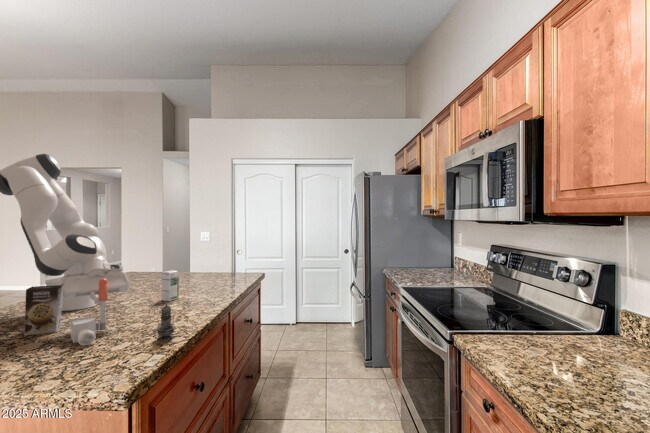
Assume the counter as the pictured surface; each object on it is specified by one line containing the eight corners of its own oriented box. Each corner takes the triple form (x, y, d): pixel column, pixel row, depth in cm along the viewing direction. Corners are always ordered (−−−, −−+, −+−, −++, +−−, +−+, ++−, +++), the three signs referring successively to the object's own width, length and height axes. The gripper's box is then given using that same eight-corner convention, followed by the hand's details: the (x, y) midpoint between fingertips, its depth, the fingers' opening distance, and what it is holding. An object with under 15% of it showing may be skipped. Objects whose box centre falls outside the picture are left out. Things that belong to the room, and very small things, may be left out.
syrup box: (169, 301, 160) (170, 272, 161) (160, 300, 163) (161, 271, 163) (178, 298, 166) (179, 270, 166) (170, 297, 168) (170, 270, 168)
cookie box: (23, 336, 112) (24, 289, 112) (30, 330, 117) (31, 286, 118) (56, 332, 116) (57, 287, 116) (61, 326, 122) (62, 284, 122)
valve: (68, 333, 115) (69, 316, 115) (93, 328, 120) (93, 312, 120) (75, 348, 102) (75, 329, 102) (103, 342, 107) (103, 324, 107)
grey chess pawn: (160, 335, 114) (161, 301, 114) (177, 335, 114) (178, 301, 114) (153, 341, 108) (153, 305, 108) (171, 341, 108) (171, 305, 109)
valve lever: (97, 329, 115) (98, 278, 115) (105, 328, 116) (106, 277, 117) (98, 331, 112) (99, 279, 113) (107, 330, 114) (108, 278, 114)
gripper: (61, 270, 116) (64, 302, 109) (127, 265, 130) (132, 293, 123) (60, 280, 119) (62, 312, 112) (124, 274, 133) (129, 303, 126)
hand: (99, 302), depth 117 cm, fingers closed
